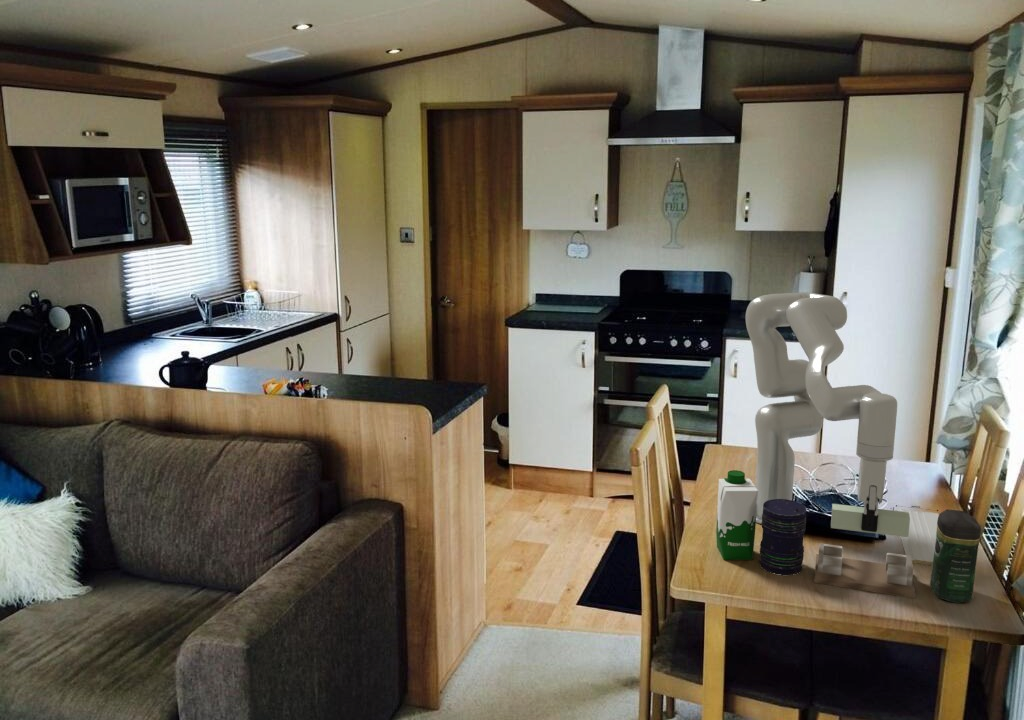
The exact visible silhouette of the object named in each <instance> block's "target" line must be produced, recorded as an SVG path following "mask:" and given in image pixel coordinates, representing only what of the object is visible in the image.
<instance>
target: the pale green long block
mask: <svg viewBox="0 0 1024 720" xmlns="http://www.w3.org/2000/svg"><path fill="white" fill-rule="evenodd" d="M831 505H832V506H831V516H830V517H831V520H830V529H837V530H845V531H854V532H860V533H867V534H869V533H870V534H878V535H885V536H894V537H895V536H896V537H900V538H901V537H908V535H909V524H910V516H909V512H901V511H899V510H897V511H895V510H893V509H882V508H878V512H877V514H878V524H877V531H876V532H871V531H863V530H862V529H861V526H862V513H864V507H862V506H855V505H847V504H840V503H839V504H838V503H831Z"/></svg>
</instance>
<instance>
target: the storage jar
mask: <svg viewBox="0 0 1024 720" xmlns="http://www.w3.org/2000/svg"><path fill="white" fill-rule="evenodd" d="M760 525H761V528H762V537H761V541H760V544H759V547H760V548H759V567H760V568H761V567H762V568H763V569H762V568H761V569H762V570H764V569H765V570H766V571H765V570H764V571H765V572H767V571H768V573H769V572H771V573H770V574H772V573H775V574H774V575H776V574H781V575H780V576H783V575H790V576H794V575H793V574H796V575H798V574H800V573H801V572H802V571H803V561H804V552H805V547H804V536H805V535H804V534H805V533H806V530H807V529H806V525H807V507H806V506H805V505H804V504H802V503H801V502H799V501H796V500H793V499H792V500H787V499H772V500H768V501H766V502H764V504H763V514H762V523H761V524H760ZM799 572H800V573H799ZM797 573H798V574H797Z"/></svg>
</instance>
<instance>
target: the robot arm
mask: <svg viewBox="0 0 1024 720" xmlns="http://www.w3.org/2000/svg"><path fill="white" fill-rule="evenodd" d="M847 319H848V311H847V308H846V306H845V303H843V301H841V300H840V299H839V298H838V297H835V296H832V295H827V294H821V293H814V292H807V291H806V292H804V291H802V292H787V293H783V292H782V293H770V294H764V295H760V296H756V298H754V299H752V300H751V301H750V302H749V304H748V305H747V308H746V311H745V325H746V330H747V333H748V336H749V339H750V342H751V345H752V351H753V361H754V370H755V377H756V378H755V379H756V385H757V389H758V391H759V394H760V395H761V396H762V397H764V398H767V399H777V398H778V399H779V398H788V397H793V399H794V401H784V402H776V403H769V404H766V405H764V406H762V407H760V408H759V409H758V410H757V412H756V414H755V418H754V422H755V423H754V424H755V431H756V439H757V442H756V443H757V449H756V450H757V453H756V472H755V484H754V485H755V486H756V489H757V490H758V496H757V510H756V524H760V525H762V524H761V523H762V514H763V504H764V502H766V501H768V500H772V499H787V500H792V501H793V492H794V477H795V460H796V459H795V457H796V456H795V455H796V454H795V451H794V450H793V448H792V447H791V445H790V443H789V440H792V439H797V438H798V439H799V438H803V437H804V438H805V437H812V436H815V435H817V434H818V433H819V432H820V431H821V429H822V428H823V423H824V420H827V421H829V422H839V421H840V422H841V421H849V420H858V426H857V428H858V429H857V437H856V438H857V439H856V452H855V453H856V454H855V455H856V456H857V457H858V458H860V459H859V461H860V462H859V469H858V479H857V480H858V481H857V483H858V484H857V500H858V502H860V503H862V502H863V505H862V506H861V507H864V513H862V526H861V529H862V530H863V531H871V532H876V531H877V524H878V514H877V512H878V509H879V508H878V507H879V504H881V503H882V502H883V498H884V497H883V496H884V490H885V484H886V473H887V463H888V461H892V460H893V459H894V450H895V437H896V426H897V415H898V400H897V398H896V397H894V396H893V395H891V394H887V393H882V392H880V391H879V390H878V389H876V388H875V387H873V386H871V385H868V384H867V385H866V384H859V385H848V386H837V387H836V386H835V387H833V386H832V385H831V384H830V381H829V380H828V378H827V376H826V373H825V371H824V370H825V369H824V368H825V367H827V366H829V365H830V364H831V363H833V362H834V361H836V360H837V359H838V358H839V357H840V356H841V355H842V354H843V352H844V349H845V348H844V343H843V341H842V339H841V337H840V336H839V335H838V333H837V330H840V329H842V328H843V327H844V326H845V325H846V323H847V321H848V320H847ZM778 327H790V328H791V330H792V332H793V334H794V335H795V338H796V339H797V340H798V342H799V344H800V346H801V348H802V350H803V351H804V354H805V355H806V357H807V359H808V360H806V359H799V358H798V359H797V358H796V359H789V355H788V354H789V353H788V347H787V342H786V339H784V337H783V335H782V334H781V333H780V332H779V331H778V330H777V328H778Z"/></svg>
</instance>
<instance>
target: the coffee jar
mask: <svg viewBox="0 0 1024 720" xmlns="http://www.w3.org/2000/svg"><path fill="white" fill-rule="evenodd" d="M938 514H939V516H938V521H937V532H936V543H935V551H934V558H933V565H931V566H932V568H931V571H930V572H931V574H930V581H929V582H930V588H931V590H932V592H933V594H934V595H935V597H938V598H939V599H941V600H945V601H949V602H950V603H954V604H955V603H957V604H958V603H959V604H960V603H967V602H971V601H972V599H973V594H974V593H973V592H974V586H975V585H974V584H975V574H976V567H977V562H978V561H977V560H978V551H979V545H980V539H981V529H982V528H981V525H980V523H979V522H978V521H977V520H976V518H975V517H974V516H972V515H970V514H969V513H967V511H965V510H960V509H959V510H958V509H957V510H956V509H948V508H947V509H945V510H943V511H941V512H940V513H938Z"/></svg>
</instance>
